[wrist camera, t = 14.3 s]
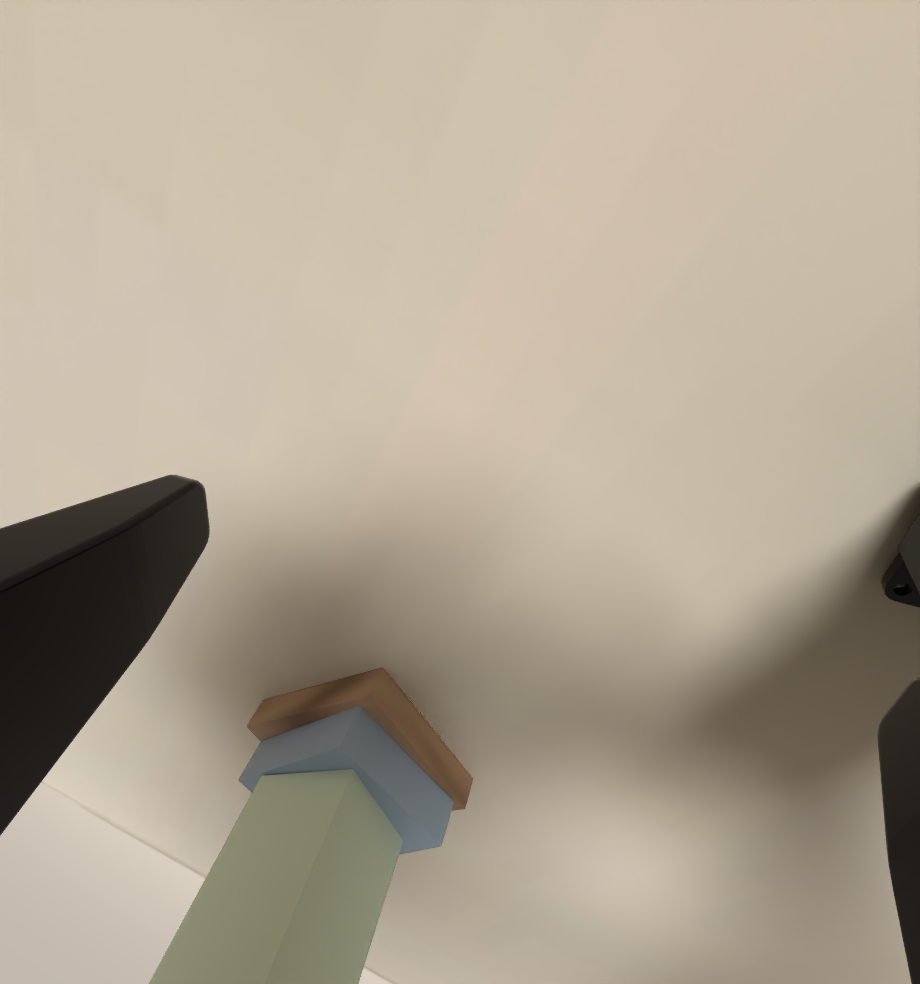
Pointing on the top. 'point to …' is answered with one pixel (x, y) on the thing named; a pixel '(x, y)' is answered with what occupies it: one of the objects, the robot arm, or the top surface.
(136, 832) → the top surface
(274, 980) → the sage block
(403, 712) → the walnut base block
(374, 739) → the slate top block
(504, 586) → the top surface
